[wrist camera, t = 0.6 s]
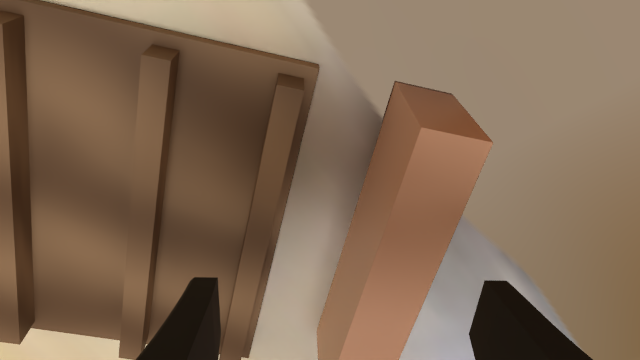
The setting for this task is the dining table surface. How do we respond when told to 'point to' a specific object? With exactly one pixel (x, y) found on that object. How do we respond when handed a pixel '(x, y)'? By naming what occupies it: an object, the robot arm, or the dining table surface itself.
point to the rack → (138, 173)
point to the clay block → (401, 223)
